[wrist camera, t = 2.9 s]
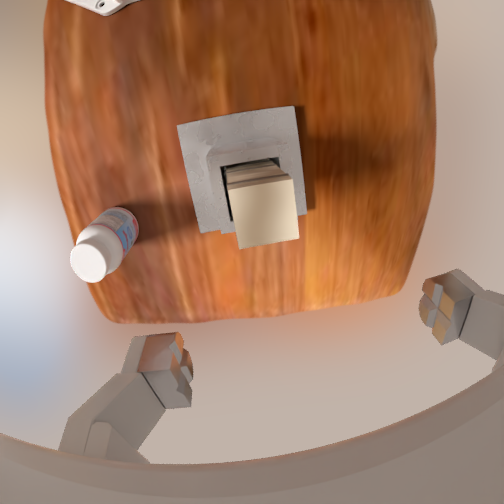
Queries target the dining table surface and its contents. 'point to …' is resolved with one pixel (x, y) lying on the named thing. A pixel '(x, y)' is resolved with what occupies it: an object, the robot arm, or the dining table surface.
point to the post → (261, 203)
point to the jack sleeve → (237, 158)
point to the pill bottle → (104, 244)
